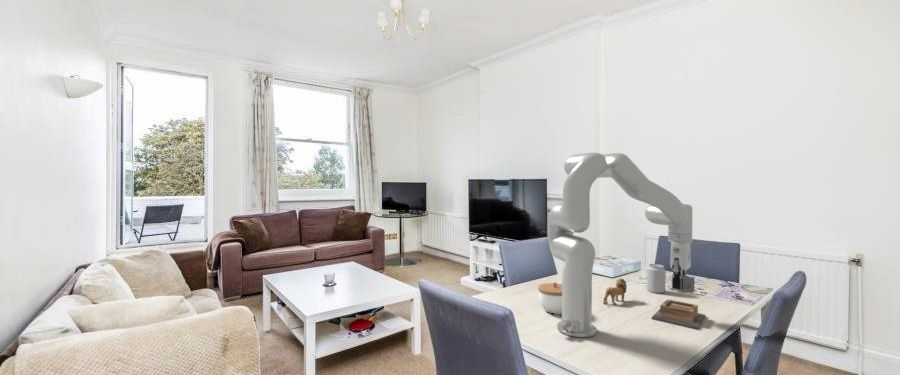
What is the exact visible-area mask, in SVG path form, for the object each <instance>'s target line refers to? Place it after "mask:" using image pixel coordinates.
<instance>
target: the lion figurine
mask: <svg viewBox="0 0 900 375" xmlns="http://www.w3.org/2000/svg"><path fill="white" fill-rule="evenodd" d="M626 293H627V282H626V280H625V279H624V278H620V277H619V278H617V280H616V281H615V286H613V287H612V286H610V287H607V288H606V290H605V294H604V297H603V301H602V302H603V304H604V305H605V306H608V305H609V304H608V297H609V296H610V298H611V302H612V304H613V305H614V306H616V305H617V302H618V301H619V296H621V299H620V300H621V302H622V303H625V302H626V301H625V300H624V299H625V294H626ZM616 301H617V302H616Z"/></svg>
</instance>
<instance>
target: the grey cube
mask: <svg viewBox="0 0 900 375" xmlns="http://www.w3.org/2000/svg"><path fill="white" fill-rule="evenodd" d="M682 279H683V289H682ZM682 279H680V289H674V288H673V287H672V286H673V274H672V275H671V289H672V290H674V291H677V292H678V293H681V294H682V293H683V294H685V293H686V294H687V293H695V278H694V277H692V276H689V275H687V274H686V275H682Z"/></svg>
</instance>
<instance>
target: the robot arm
mask: <svg viewBox="0 0 900 375" xmlns="http://www.w3.org/2000/svg"><path fill="white" fill-rule="evenodd" d="M563 164H564V165H563V170H564V172H565V174H567V177H566V179H565V181H564V184H563V189H562V202H559V203H557V204H555V205H554V206H552V208H551V209H550V212H549V214H548V246H549V251H550V252H551V254H552V255H553V257H554V258H556V259H558V260H560V261H563V262H565V265H564V268H563V270H562V275H561V284H562V314H561V320H560V321H559V322H557V324H556V328H557V330H558V331H559V332H560V333H562V334H564V335H566V336H570V337H575V338H590V337H593V336H595V335H596V334H597V327H596V325H594V324H592V322H593V320H592V318H593V314H592V311H593V309H592V308H593V306H592V305H593V299H592V298H593V269H594V265H595V259H596V250H595V246H594V245H593V243H592V242H591V241H590V240H588V239H587V238H585V237H582V236H578V235H574V233H575V234H576V233H579V234H580V233H585V232H586V231H587V230H588V229H589V226H590V224H591V223H590V222H591V218H590V217H591V212H590V211H591V210H590V209H591V208H590V207H591V206H590V205H591V204H590V196H591V194H590V192H591V188H592V186H593V184H594V182H595V181H596V180H597V179H598V178H600V179H601V178H611V179H612V180H613V181H614V182H615V183H616V184H617V185H618V186H619V187H620V188H621V189H622V190H623V191H624V193H625V194H627V195H628V196H629V197H631V198H633V199H634V200H636V201H638V202H641V203H642V202H643V203H645V204H648V205H649V206H647V207H646V208H645V211H644V216H645V218H646V220H647V221H649V222H650V223H653V224H654V225H655V224H656V225H661V226H667V228H668V229H667V241H668V242H670V257H669V258H670V260H669V261H670V269H671V270H672V275H673V286H672V285H671V288H672V287H673V288H674V289H680V279H682V275H687V271H688V270H690V269H691V266H692V261H691V260H692V259H691V244H692V243H693V212H694V211H693V207H692V205H691V204H687V203H683V202H681V200H680V199H679V198H678V197H677V196H676V195H674V193H672V192H670V191H669V190H667V189H666V188H664V187H663V186H661V185H660V184H657V183H655V182H653V181H652V180H650V179H649V178H648V177H647V176H646V175H645V174H644V173H643V172H642V171H641V169H640V168H639V167H638V166H637V165H636V164H635V163H634V162H633V160H632V159H631V158H630V157H628V155H626V154H625V153H620V152H617V153H615V152H614V153H606V154H605V153H604V154H602V153H599V152H587V153H585V152H584V153H578V154H577V153H576V154H572V155H570V156H568V157H567V158H566V160H565V161H564V163H563ZM674 289H673V290H674ZM682 289H683V279H682Z"/></svg>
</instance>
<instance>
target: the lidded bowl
mask: <svg viewBox="0 0 900 375" xmlns="http://www.w3.org/2000/svg"><path fill="white" fill-rule="evenodd" d="M537 290H538V300H539V304H540V306H541V307H542V308H543V309H544V311H545V310H546V311H547V312H546V311H545V312H546V313H548V312H549V313H548V314H551V313H554V314H553V315H562V283H557V282H556V281H555V282H549V283H548V282H546V283H541V284H539V285H538V287H537Z"/></svg>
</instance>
